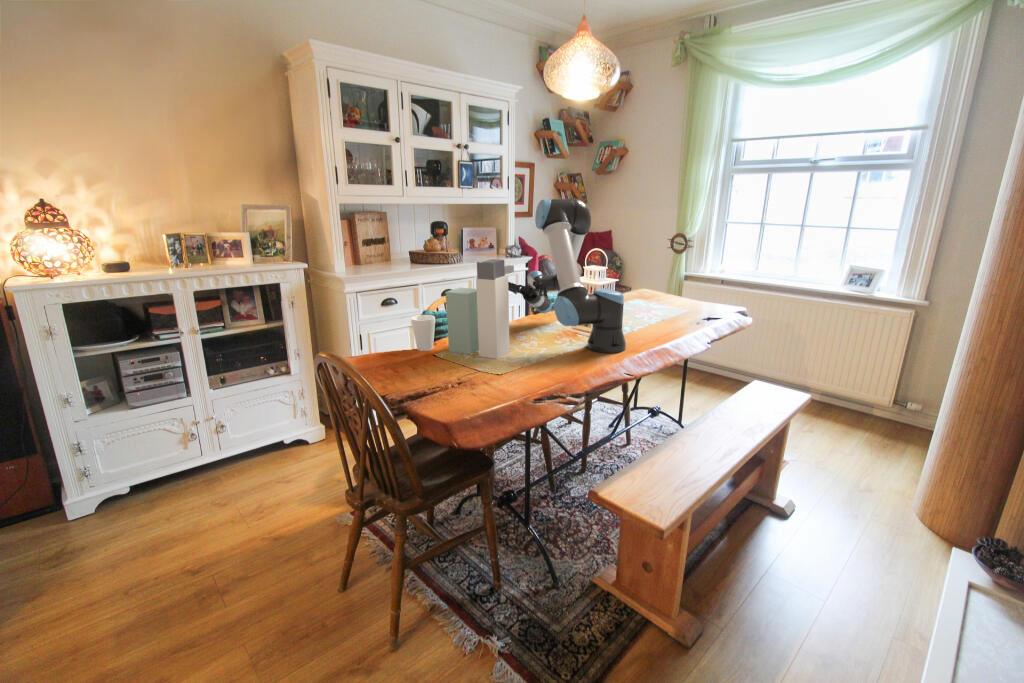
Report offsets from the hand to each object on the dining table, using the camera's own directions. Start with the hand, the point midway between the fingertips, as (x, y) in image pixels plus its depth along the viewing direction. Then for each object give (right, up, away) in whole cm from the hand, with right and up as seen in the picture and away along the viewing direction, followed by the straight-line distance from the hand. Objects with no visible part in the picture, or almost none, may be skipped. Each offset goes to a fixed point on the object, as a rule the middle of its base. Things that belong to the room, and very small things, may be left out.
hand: (513, 278), depth 191 cm
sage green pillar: (-19, -29, -1) cm, 35 cm away
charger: (-6, 0, -12) cm, 13 cm away
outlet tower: (-8, -30, -7) cm, 32 cm away
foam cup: (-36, -29, +1) cm, 46 cm away
